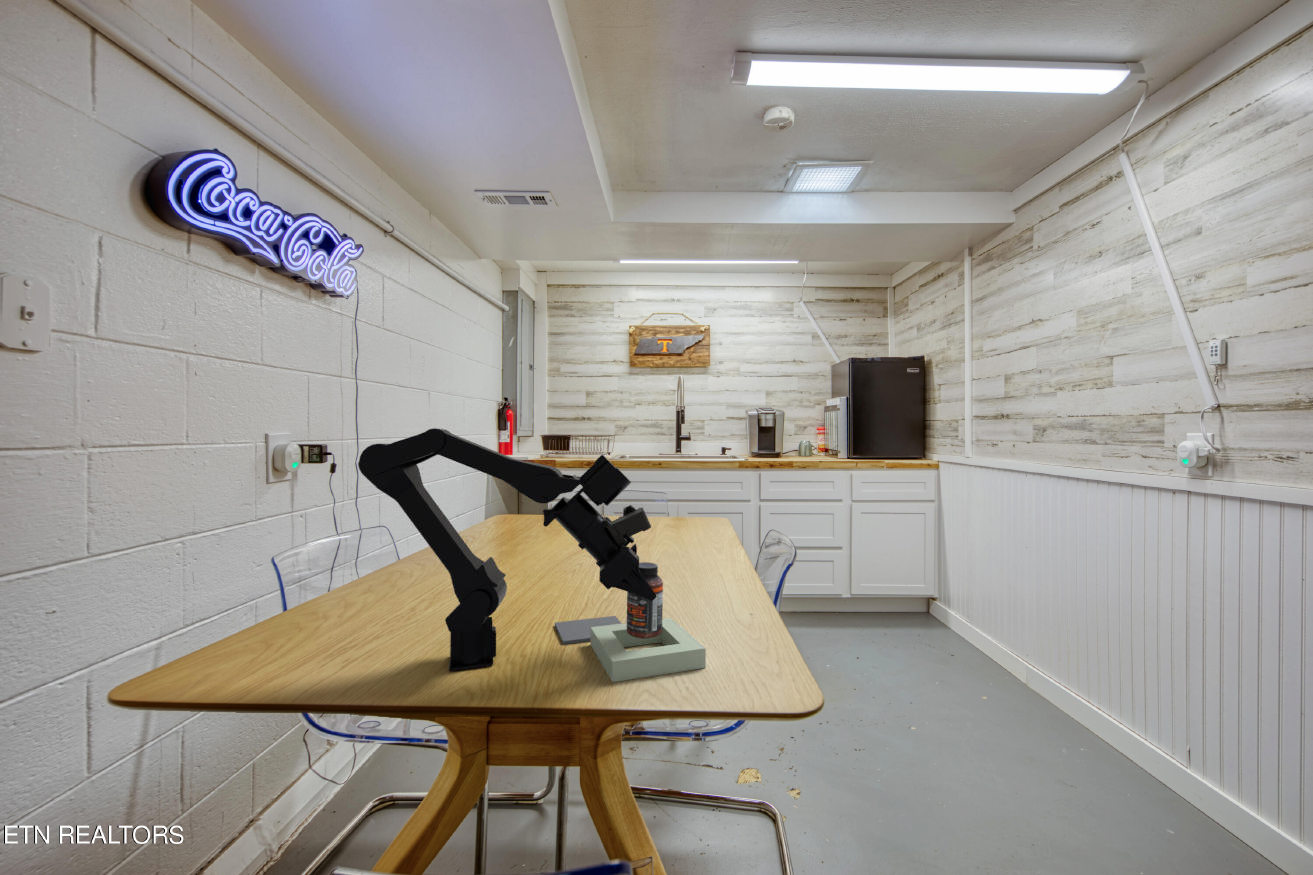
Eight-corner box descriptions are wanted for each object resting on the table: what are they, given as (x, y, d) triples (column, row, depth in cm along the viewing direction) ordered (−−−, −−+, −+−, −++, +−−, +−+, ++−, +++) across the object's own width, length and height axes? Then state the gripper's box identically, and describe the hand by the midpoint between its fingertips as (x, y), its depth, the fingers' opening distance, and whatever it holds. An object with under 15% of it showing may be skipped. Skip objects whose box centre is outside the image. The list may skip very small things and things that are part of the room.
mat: (563, 644, 89) (563, 641, 89) (554, 625, 98) (554, 622, 98) (629, 636, 93) (629, 632, 93) (615, 618, 102) (615, 615, 102)
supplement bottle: (619, 635, 83) (620, 565, 83) (637, 624, 88) (638, 559, 88) (651, 642, 80) (652, 570, 80) (668, 630, 85) (669, 563, 86)
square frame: (612, 682, 75) (612, 661, 75) (590, 644, 89) (590, 627, 89) (705, 667, 80) (705, 648, 80) (670, 634, 94) (670, 617, 94)
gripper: (623, 497, 75) (696, 571, 76) (621, 487, 94) (680, 547, 94) (568, 550, 74) (642, 625, 75) (578, 530, 93) (637, 590, 94)
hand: (653, 592), depth 84 cm, fingers closed on supplement bottle, 6 cm apart
